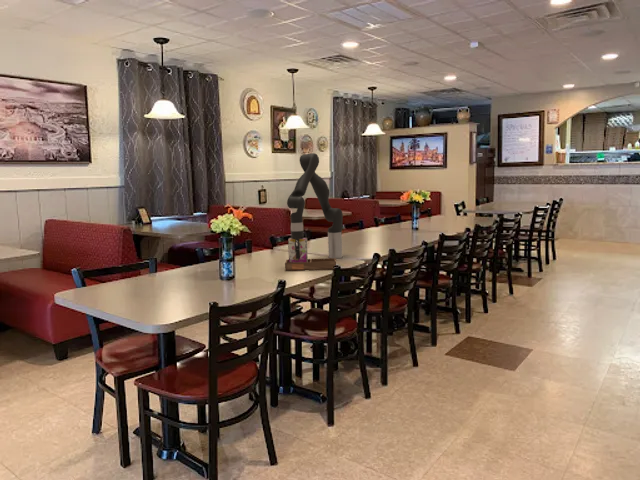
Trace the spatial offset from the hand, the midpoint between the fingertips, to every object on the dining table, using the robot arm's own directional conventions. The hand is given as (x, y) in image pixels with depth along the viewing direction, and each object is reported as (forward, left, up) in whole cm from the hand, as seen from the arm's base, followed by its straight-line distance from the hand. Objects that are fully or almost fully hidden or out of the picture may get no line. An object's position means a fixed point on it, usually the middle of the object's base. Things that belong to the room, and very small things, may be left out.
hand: (298, 257), depth 303 cm
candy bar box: (0, 0, -5) cm, 5 cm away
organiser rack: (0, +7, -7) cm, 10 cm away
